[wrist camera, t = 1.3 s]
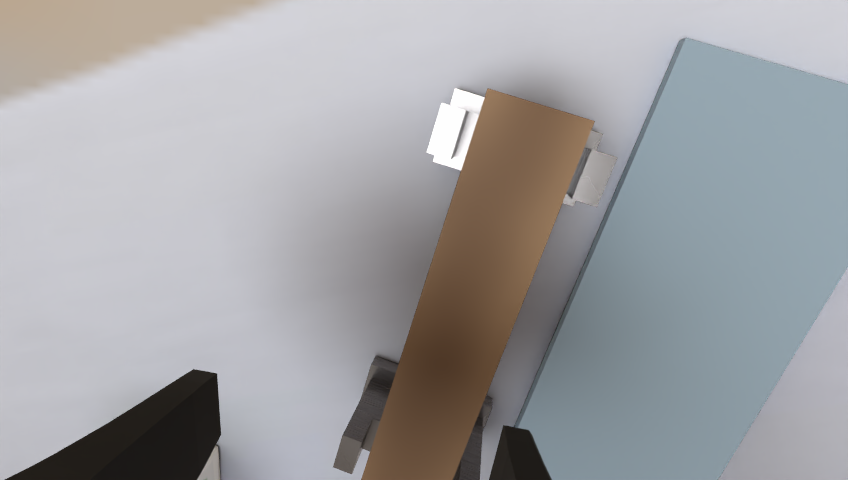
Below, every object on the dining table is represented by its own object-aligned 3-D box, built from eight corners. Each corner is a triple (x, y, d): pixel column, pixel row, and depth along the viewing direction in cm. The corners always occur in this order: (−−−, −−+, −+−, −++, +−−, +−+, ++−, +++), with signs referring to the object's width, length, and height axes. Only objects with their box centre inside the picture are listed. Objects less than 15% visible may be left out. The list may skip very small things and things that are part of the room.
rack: (598, 133, 18) (634, 136, 13) (472, 447, 23) (465, 533, 18) (456, 89, 19) (442, 77, 14) (360, 405, 23) (324, 478, 18)
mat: (926, 112, 16) (942, 111, 16) (679, 524, 22) (684, 534, 21) (679, 40, 17) (686, 37, 16) (501, 457, 23) (501, 466, 22)
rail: (576, 121, 15) (594, 121, 12) (434, 490, 20) (423, 553, 17) (490, 94, 15) (487, 88, 12) (369, 465, 20) (347, 523, 17)
